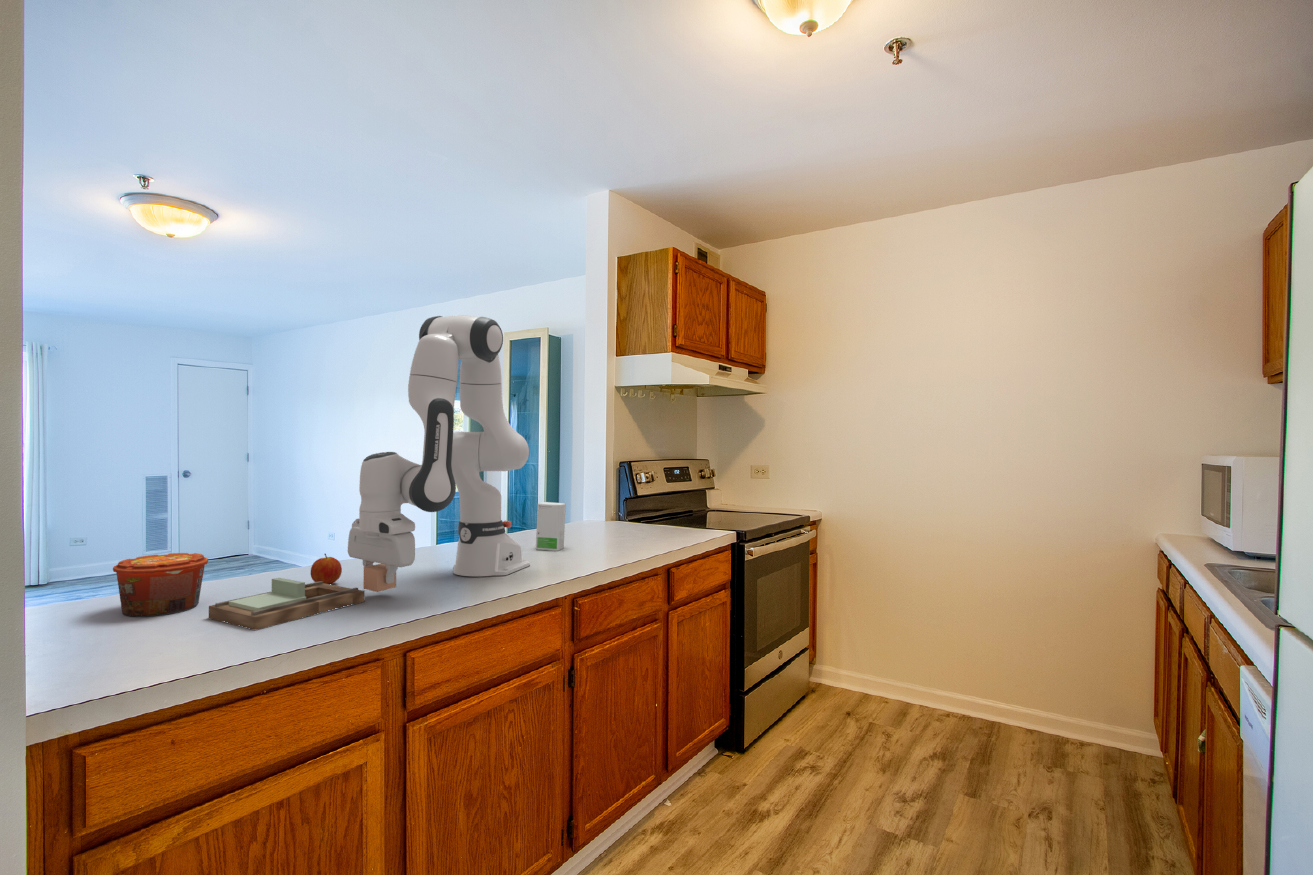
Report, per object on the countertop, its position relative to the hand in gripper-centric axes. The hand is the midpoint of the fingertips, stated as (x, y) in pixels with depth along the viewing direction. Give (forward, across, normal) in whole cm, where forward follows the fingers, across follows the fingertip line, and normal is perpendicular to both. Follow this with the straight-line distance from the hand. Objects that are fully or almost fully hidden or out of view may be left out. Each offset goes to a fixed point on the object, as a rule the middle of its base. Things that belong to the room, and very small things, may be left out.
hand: (380, 580), depth 146 cm
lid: (+1, -6, -22) cm, 23 cm away
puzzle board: (+4, -6, -17) cm, 19 cm away
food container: (+4, -29, -32) cm, 43 cm away
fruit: (+4, -21, 0) cm, 22 cm away
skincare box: (+6, -8, +71) cm, 72 cm away
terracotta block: (+2, 0, 0) cm, 2 cm away
